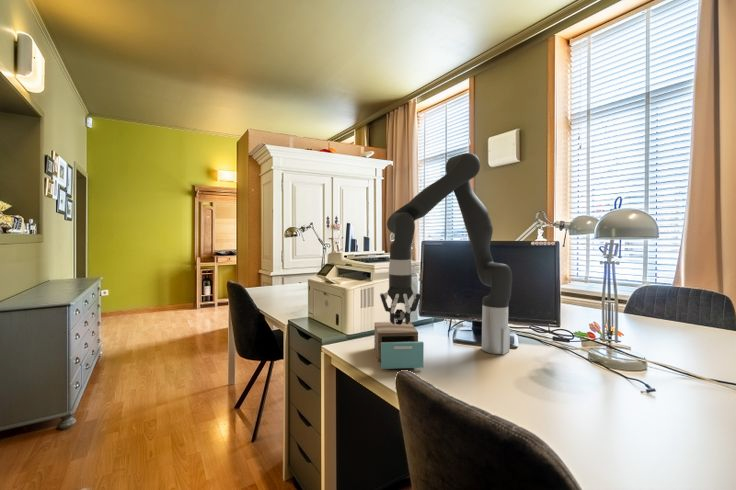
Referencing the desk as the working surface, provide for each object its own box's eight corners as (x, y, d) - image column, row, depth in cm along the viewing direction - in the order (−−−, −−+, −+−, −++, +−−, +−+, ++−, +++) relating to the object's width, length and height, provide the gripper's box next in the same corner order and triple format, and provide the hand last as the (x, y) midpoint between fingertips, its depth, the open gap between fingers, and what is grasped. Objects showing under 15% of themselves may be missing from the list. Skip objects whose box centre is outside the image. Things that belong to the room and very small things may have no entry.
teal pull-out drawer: (423, 368, 115) (423, 343, 115) (381, 369, 114) (381, 344, 114) (415, 353, 129) (415, 331, 129) (377, 354, 128) (377, 331, 128)
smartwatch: (407, 323, 121) (407, 309, 121) (398, 326, 117) (398, 311, 117) (397, 321, 124) (397, 307, 123) (388, 324, 120) (388, 309, 120)
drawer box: (417, 360, 125) (418, 332, 125) (378, 361, 124) (378, 333, 124) (410, 347, 139) (410, 321, 139) (374, 348, 138) (374, 322, 138)
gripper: (380, 274, 115) (380, 327, 116) (423, 274, 116) (423, 326, 117) (378, 271, 123) (377, 321, 124) (419, 271, 124) (418, 320, 125)
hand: (400, 323), depth 120 cm, fingers closed on smartwatch, 4 cm apart
